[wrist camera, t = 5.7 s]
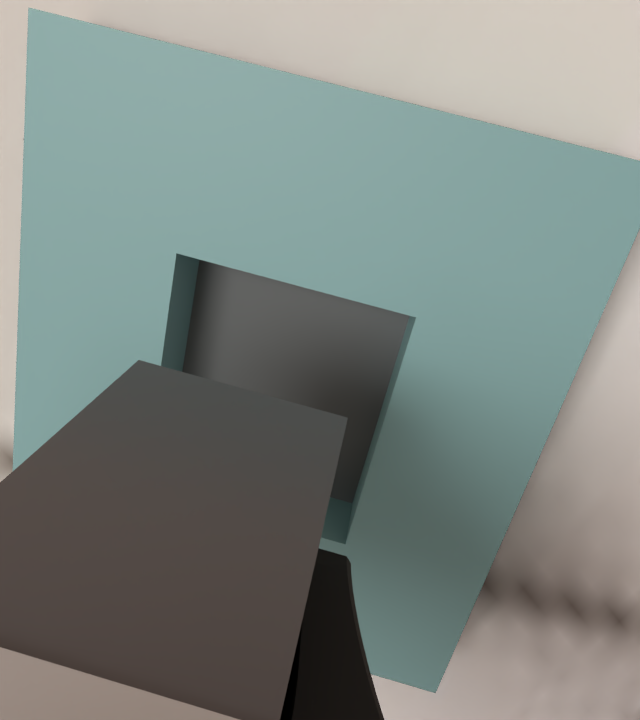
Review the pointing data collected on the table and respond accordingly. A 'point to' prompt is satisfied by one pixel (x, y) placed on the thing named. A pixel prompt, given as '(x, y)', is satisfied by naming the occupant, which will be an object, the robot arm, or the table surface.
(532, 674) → the table surface
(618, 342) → the table surface
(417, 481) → the outlet block
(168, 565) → the plug
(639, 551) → the table surface
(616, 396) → the table surface
